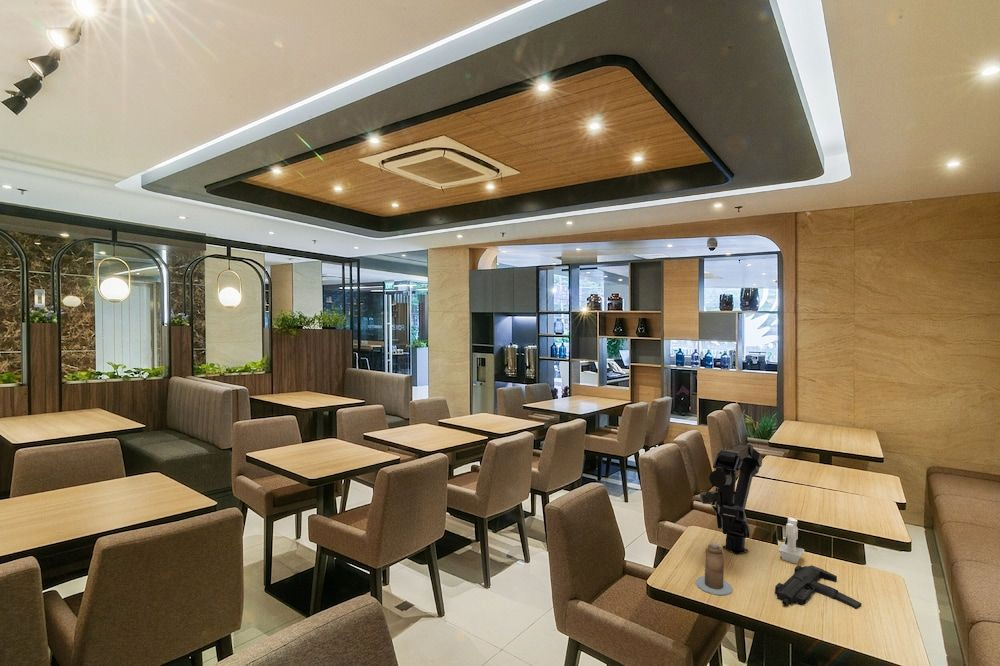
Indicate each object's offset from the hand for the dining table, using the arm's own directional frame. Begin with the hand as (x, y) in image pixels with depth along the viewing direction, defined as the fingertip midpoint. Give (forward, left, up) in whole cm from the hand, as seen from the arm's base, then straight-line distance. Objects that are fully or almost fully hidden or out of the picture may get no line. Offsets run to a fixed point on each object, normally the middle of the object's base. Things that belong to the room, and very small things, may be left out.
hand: (721, 531), depth 179 cm
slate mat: (+15, +10, -12) cm, 21 cm away
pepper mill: (+15, +10, -11) cm, 21 cm away
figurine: (-26, +9, -12) cm, 30 cm away
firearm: (-11, +28, -12) cm, 33 cm away
